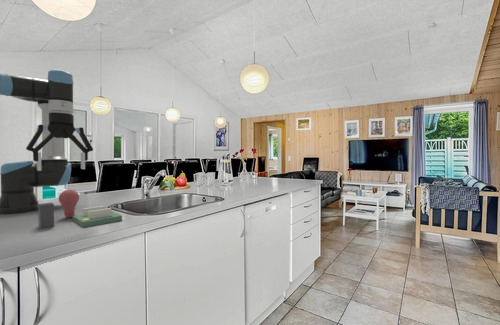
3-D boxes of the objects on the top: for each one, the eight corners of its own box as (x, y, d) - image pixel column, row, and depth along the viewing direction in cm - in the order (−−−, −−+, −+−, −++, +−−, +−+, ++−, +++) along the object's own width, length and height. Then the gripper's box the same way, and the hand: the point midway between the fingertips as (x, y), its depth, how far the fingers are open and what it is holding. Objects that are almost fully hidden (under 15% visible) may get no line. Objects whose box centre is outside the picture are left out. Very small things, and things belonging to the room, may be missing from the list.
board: (72, 220, 105) (72, 208, 105) (109, 214, 115) (109, 203, 115) (82, 227, 95) (82, 214, 95) (121, 220, 106) (121, 208, 105)
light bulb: (69, 220, 106) (68, 191, 105) (54, 219, 107) (54, 190, 107) (83, 216, 112) (83, 188, 112) (69, 215, 114) (69, 188, 113)
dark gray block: (38, 226, 96) (37, 203, 96) (51, 224, 99) (51, 202, 99) (40, 228, 93) (40, 205, 93) (54, 226, 96) (53, 204, 96)
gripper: (18, 107, 84) (19, 171, 85) (101, 116, 103) (102, 168, 104) (14, 109, 89) (16, 170, 90) (94, 117, 108) (95, 168, 109)
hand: (62, 169), depth 97 cm, fingers open, 13 cm apart
